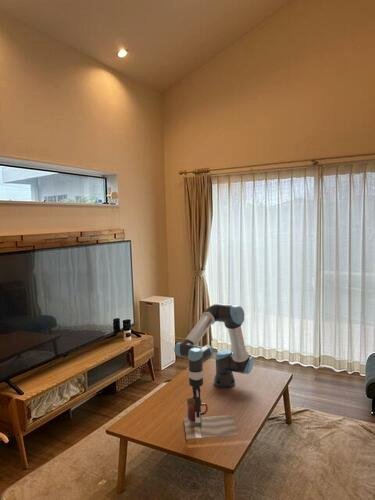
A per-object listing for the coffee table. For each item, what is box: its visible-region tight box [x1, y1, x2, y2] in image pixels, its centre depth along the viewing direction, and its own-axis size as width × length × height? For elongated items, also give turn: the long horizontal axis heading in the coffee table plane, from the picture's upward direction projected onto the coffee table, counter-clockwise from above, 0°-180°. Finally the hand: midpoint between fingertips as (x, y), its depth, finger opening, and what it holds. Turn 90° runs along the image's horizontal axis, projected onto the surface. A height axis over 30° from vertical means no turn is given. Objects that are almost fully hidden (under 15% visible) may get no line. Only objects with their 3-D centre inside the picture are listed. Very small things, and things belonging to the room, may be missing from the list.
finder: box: [192, 421, 202, 426], centre depth 211 cm, size 7×5×5 cm
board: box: [183, 414, 239, 442], centre depth 208 cm, size 23×28×1 cm
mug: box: [185, 396, 209, 422], centre depth 199 cm, size 12×9×10 cm
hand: (197, 418), depth 200 cm, fingers closed on mug, 7 cm apart
